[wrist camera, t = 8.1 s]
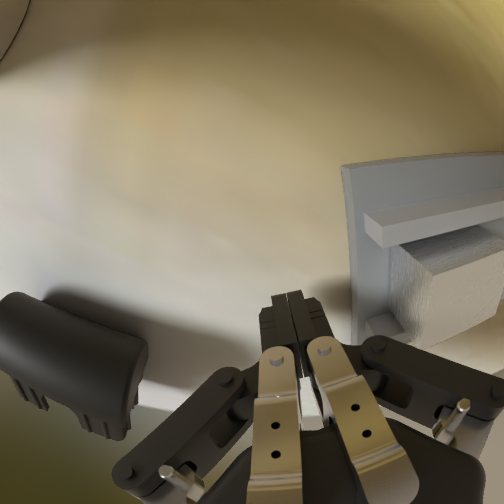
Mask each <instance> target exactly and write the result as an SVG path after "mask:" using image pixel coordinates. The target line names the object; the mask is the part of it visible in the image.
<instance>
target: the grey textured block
mask: <svg viewBox="0 0 504 504" xmlns="http://www.w3.org/2000/svg"><path fill="white" fill-rule="evenodd" d="M503 288H504V240H503V239H501V238H499V237H498V236H496V235H495V234H493V233H491V232H490V231H488V230H486V229H485V228H483V227H481V226H479V225H478V224H476V225H473V226H469V227H465V228H462V229H458V230H454V231H450V232H446V233H442V234H439V235H435V236H431V237H427V238H423V239H419V240H415V241H411V242H407V243H403V244H399V245H395V246H391V261H390V285H389V300H388V307H389V308H390V310H391V311H392V313H393V314H394V316H395V317H396V318H397V320H398V321H399V323H400V324H401V326H402V327H403V329H404V330H405V332H406V333H407V335H408V336H409V338H410V339H411V341H412V342H413V344H414V345H415V347H416V348H418V349H421V350H423V349H426V348H428V347H430V346H433V345H435V344H437V343H440V342H442V341H444V340H447V339H449V338H451V337H453V336H455V335H457V334H459V333H462V332H464V331H466V330H468V329H470V328H472V327H474V326H476V325H477V324H479V323H481V322H483V321H485V320H487V319H489V318H490V317H492V316H494V315H495V314H496V311H497V308H498V305H499V302H500V298H501V295H502V292H503Z"/></svg>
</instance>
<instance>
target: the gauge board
mask: <svg viewBox="0 0 504 504" xmlns="http://www.w3.org/2000/svg"><path fill="white" fill-rule="evenodd" d="M341 171H342V179H343V187H344V195H345V204H346V214H347V225H348V237H349V251H350V270H351V303H352V333H351V345H362V343H363V342H364V341H365V340H366V339H367V338H369V337H371V336H374V335H383V336H387V337H389V338H392V339H394V340H397V341H399V342H402V343H408V342H411V339H410V338H409V336H408V335H407V333H406V332H405V330H404V329H403V327H402V326H401V324H400V323H399V321H398V320H397V318H396V317H395V316H394V314H393V313H392V311H391V310H390V308H389V307H388V300H389V285H390V261H391V246H395V245H399V244H403V243H407V242H411V241H415V240H419V239H423V238H427V237H431V236H435V235H439V234H442V233H446V232H450V231H454V230H458V229H462V228H465V227H469V226H473V225H476V224H478V225H479V226H481V227H483V228H485V229H486V230H488V231H490V232H491V233H493V234H495V235H496V236H498V237H499V238H501V239H503V240H504V152H475V153H454V154H439V155H426V156H415V157H405V158H395V159H386V160H378V161H370V162H363V163H356V164H349V165H342V166H341ZM503 299H504V288H503V292H502V295H501V298H500V301H501V300H503Z"/></svg>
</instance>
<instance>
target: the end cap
mask: <svg viewBox="0 0 504 504" xmlns="http://www.w3.org/2000/svg"><path fill="white" fill-rule="evenodd" d="M147 359H148V344H147V342H146V341H145V340H143V339H141V338H137V337H134V336H131V335H128V334H125V333H122V332H119V331H116V330H113V329H110V328H107V327H104V326H101V325H99V324H96V323H93V322H90V321H88V320H85V319H82V318H80V317H77V316H75V315H72V314H70V313H67V312H65V311H63V310H60V309H58V308H55V307H53V306H51V305H49V304H46V303H44V302H42V301H40V300H37V299H35V298H33V297H31V296H29V295H27V294H25V293H21V292H13V293H10V294H8V295H7V296H5V297H4V298H3V299H2V300H1V301H0V369H1V370H2V371H4V372H5V373H7V374H8V375H9V376H10V378H11V380H12V382H13V384H14V386H15V387H16V390H17V391H18V393H19V395H20V396H21V397H22V398H24V400H25V401H30V402H31V403H33V404H34V405H36V406H37V407H38V408H39V409H44V410H46V411H48V408H49V405H48V403H47V401H46V399H45V397H44V396H46V397H48V398H50V399H52V400H54V401H56V402H58V403H61V404H62V405H65V406H67V407H68V408H70V409H71V410H72V411H73V412H74V413H75V414H76V415H77V417H78V419H79V421H80V424H81V426H82V428H84V429H86V430H87V431H88V432H94V433H96V434H99V435H102V436H104V437H105V438H106V439H109V438H110V439H112V440H116V441H121V440H123V439H124V438H125V437H126V434H127V430H130V429H131V423H130V411H131V409H134V406H135V405H137V404H138V386H139V383H140V382H141V379H142V376H143V370H144V367H145V364H146V362H147Z"/></svg>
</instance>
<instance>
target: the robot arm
mask: <svg viewBox="0 0 504 504" xmlns="http://www.w3.org/2000/svg"><path fill="white" fill-rule="evenodd" d="M28 4H29V0H0V60H1V58H2V57H3V55H4V53H5V52H6V50H7V49H8V47H9V45H10V44H11V42H12V40H13V38H14V36H15V34H16V33H17V31H18V28H19V26H20V24H21V22H22V20H23V18H24V15H25V13H26V10H27V8H28ZM287 298H288V301H287ZM271 299H272V305H273V306H271V307H266V308H262V310H261V312H260V314H259V323H260V334H261V345H262V355H261V356H260V359H259V361H258V362H257V363H256V364H255V365H254V366H252V367H250V368H248V369H245V370H243V371H240V370H239V369H237V368H235V367H225V368H221V369H219V370H217V371H216V372H214V373H213V374H212V375H211V376H210V377H209V378H208V379H207V380H206V381H205V382H204V383H203V384H202V385H201V386H200V387H199V388H198V389H197V390H196V391H195V392H194V393H193V394H192V395H191V396H190V397H189V398H188V399H187V400H186V401H185V402H184V403H183V404H182V405H181V406H180V407H179V408H177V409H176V410H175V411H174V412H173V413H172V414H171V415H170V416H169V417H168V418H167V419H166V420H165V421H164V422H163V423H161V424H160V425H159V426H158V427H157V428H156V429H155V430H154V431H153V432H151V433H150V434H149V435H148V436H147V437H146V438H145V439H144V440H143V441H142V442H140V443H139V444H138V445H137V446H136V447H135V448H133V449H132V450H131V451H130V452H129V453H128V454H126V455H125V456H124V457H123V458H122V459H121V460H119V461H118V462H117V463H116V464H115V466H114V467H113V470H112V479H113V481H114V483H115V484H116V485H117V486H118V487H120V488H121V489H123V490H125V491H127V492H128V493H130V494H131V495H133V496H135V497H136V498H138V499H140V500H141V501H142V502H143V503H144V504H483V494H484V488H485V482H486V479H485V478H486V476H485V471H484V468H483V466H482V464H481V463H480V461H479V460H478V459H479V457H480V454H481V452H482V450H483V448H484V445H485V443H486V440H487V438H488V435H489V433H490V430H491V428H492V425H493V422H494V420H495V419H496V418H497V416H498V415H499V414H500V413H501V411H502V410H503V409H504V379H502V378H499V377H496V376H493V375H490V374H487V373H484V372H481V371H479V370H476V369H473V368H470V367H467V366H464V365H461V364H459V363H456V362H453V361H450V360H448V359H445V358H442V357H439V356H437V355H434V354H431V353H429V352H426V351H423V350H421V349H418V348H415V347H413V346H410V345H407V344H405V343H402V342H399V341H397V340H394V339H392V338H389V337H387V336H383V335H374V336H371V337H369V338H367V339H366V340H365V341H364V342H363V343H362V345H345V344H342V343H340V342H339V341H338V340H337V339H336V338H335V337H334V335H333V333H332V330H331V328H330V325H329V323H328V320H327V318H326V316H325V313H324V311H323V308H322V306H321V303H320V302H319V301H318V300H316V299H315V298H314V297H312V298H308V299H304V297H303V294H302V291H301V290H297V291H293V292H288V293H287V297H286V293H284V294H279V295H274V296H271ZM288 304H289V305H288ZM300 360H301V361H300ZM301 364H302V368H301ZM302 369H303V373H304V377H308V376H309V377H310V381H311V388H312V392H313V395H314V398H315V401H316V404H317V407H318V410H319V413H320V416H321V419H322V422H323V426H324V428H322V429H320V430H315V431H304V430H303V418H302V407H301V397H300V389H301V386H300V380H299V378H303V374H302ZM378 404H379V405H381V406H383V407H385V408H387V409H389V410H391V411H393V412H395V413H398V414H400V415H402V416H404V417H406V418H408V419H411V420H413V421H415V422H417V423H420V424H422V425H424V426H427V427H429V428H431V429H432V433H433V436H434V438H435V439H433V438H431V437H429V436H427V435H425V434H423V433H421V432H419V431H417V430H415V429H413V428H411V427H409V426H407V425H405V424H403V423H401V422H399V421H397V420H394V419H391V418H386V417H384V415H383V413H382V411H381V409H380V407H379V405H378ZM252 423H253V437H252V438H253V439H252V446H250V447H249V448H247V449H246V450H244V451H243V452H242V453H241V454H240V455H239V456H238V457H237V458H236V459H235V460H234V461H233V462H232V464H231V465H230V466H229V468H227V470H226V471H225V472H224V473H223V474H222V475H221V477H220V478H219V479H218V480H217V481H216V482H215V483H214V485H213V486H212V487H211V488H210V489H209V490H208V491H207V492H206V493H205V494H204V495H203V496H202V498H201V499H200V500H199V498H200V497H201V495H202V494H203V492H204V490H205V483H204V480H203V478H204V477H205V475H206V474H207V473H208V472H209V471H210V470H211V469H212V468H213V467H214V466H215V465H216V464H217V463H218V462H219V461H220V460H221V459H222V458H223V457H224V456H225V454H226V453H227V452H228V451H229V450H230V449H231V448H232V447H233V445H234V444H235V443H236V442H237V441H238V440H239V439H240V438H241V436H242V435H243V434H244V433H245V432H246V431H247V429H248V428H249V427H250V426H251V424H252ZM198 500H199V501H198Z"/></svg>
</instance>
